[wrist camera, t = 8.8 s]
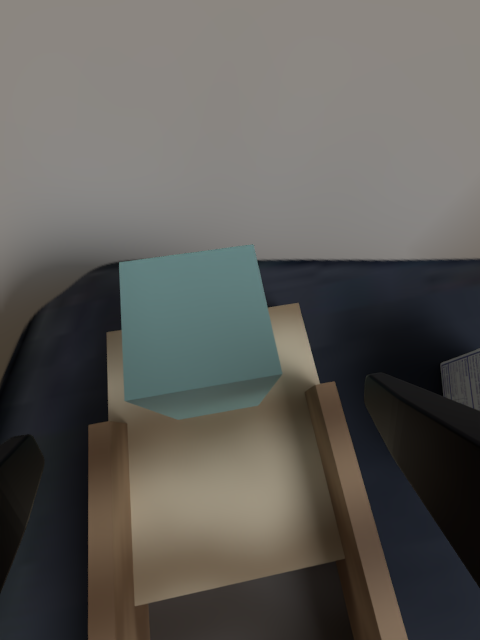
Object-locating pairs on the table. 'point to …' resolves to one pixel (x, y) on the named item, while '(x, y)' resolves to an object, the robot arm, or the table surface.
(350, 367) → the table surface
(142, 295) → the teal block
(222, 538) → the channel track
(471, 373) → the medicine box
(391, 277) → the table surface
